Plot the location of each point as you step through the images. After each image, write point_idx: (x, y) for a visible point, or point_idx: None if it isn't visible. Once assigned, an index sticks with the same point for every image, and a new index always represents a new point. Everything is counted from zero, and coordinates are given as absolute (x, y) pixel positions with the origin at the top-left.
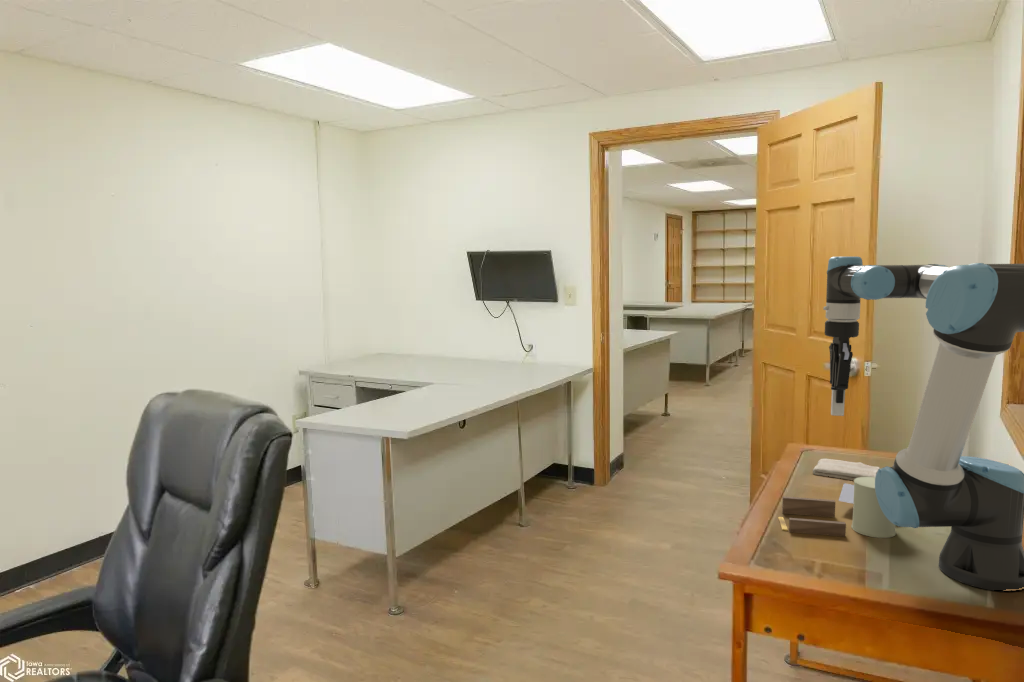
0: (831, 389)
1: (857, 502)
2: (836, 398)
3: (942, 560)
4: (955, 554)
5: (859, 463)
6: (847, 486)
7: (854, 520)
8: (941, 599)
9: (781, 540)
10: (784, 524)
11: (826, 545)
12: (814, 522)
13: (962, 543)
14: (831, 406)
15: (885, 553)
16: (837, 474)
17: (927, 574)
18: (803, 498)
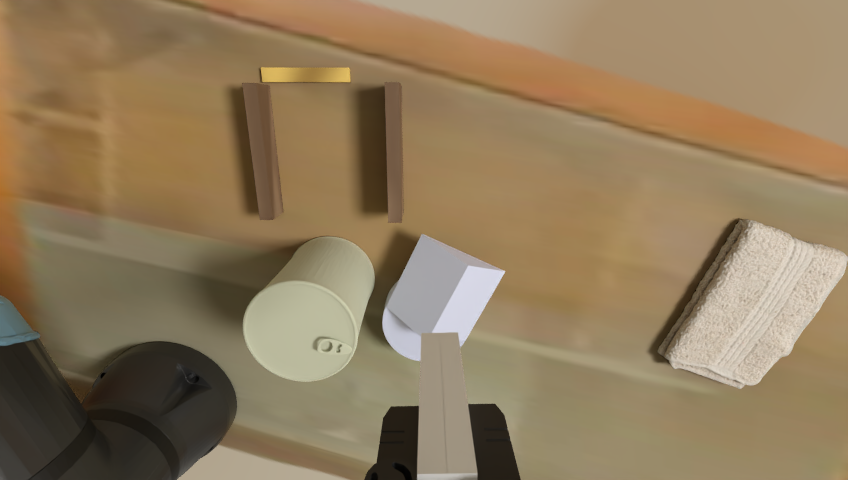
0: (382, 461)
1: (291, 265)
2: (403, 431)
3: (141, 353)
4: (105, 379)
5: (778, 348)
6: (455, 270)
7: (313, 245)
8: (33, 309)
9: (192, 57)
10: (295, 77)
11: (203, 161)
12: (252, 147)
13: (85, 404)
14: (448, 363)
15: (206, 270)
16: (713, 278)
17: (133, 316)
18: (394, 142)
